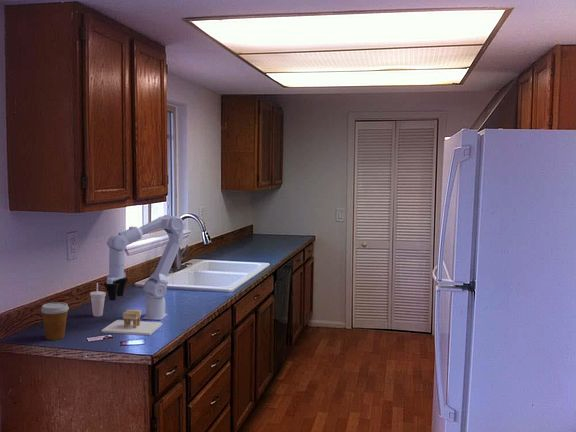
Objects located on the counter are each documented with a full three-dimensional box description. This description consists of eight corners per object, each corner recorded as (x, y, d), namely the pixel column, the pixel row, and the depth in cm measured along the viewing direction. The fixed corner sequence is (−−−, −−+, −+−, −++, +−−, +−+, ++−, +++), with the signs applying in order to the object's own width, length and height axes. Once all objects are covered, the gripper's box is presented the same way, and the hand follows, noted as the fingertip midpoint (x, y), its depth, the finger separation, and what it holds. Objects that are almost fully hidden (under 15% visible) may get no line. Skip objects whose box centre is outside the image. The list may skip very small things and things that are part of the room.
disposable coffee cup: (36, 336, 205) (36, 304, 204) (62, 332, 211) (62, 300, 210) (46, 343, 198) (46, 309, 197) (73, 338, 204) (73, 305, 203)
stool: (127, 323, 222) (128, 309, 222) (141, 324, 222) (141, 310, 221) (122, 327, 217) (122, 313, 216) (136, 328, 216) (136, 313, 216)
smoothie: (100, 312, 241) (100, 280, 239) (108, 315, 237) (109, 283, 235) (86, 315, 236) (87, 282, 234) (95, 318, 232) (95, 285, 230)
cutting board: (117, 321, 228) (117, 319, 228) (162, 324, 226) (162, 322, 226) (101, 332, 213) (101, 330, 213) (149, 335, 211) (149, 333, 211)
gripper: (114, 261, 231) (113, 293, 232) (99, 267, 216) (98, 301, 217) (130, 262, 230) (130, 294, 231) (116, 268, 216) (116, 302, 217)
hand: (116, 298), depth 224 cm, fingers open, 7 cm apart
